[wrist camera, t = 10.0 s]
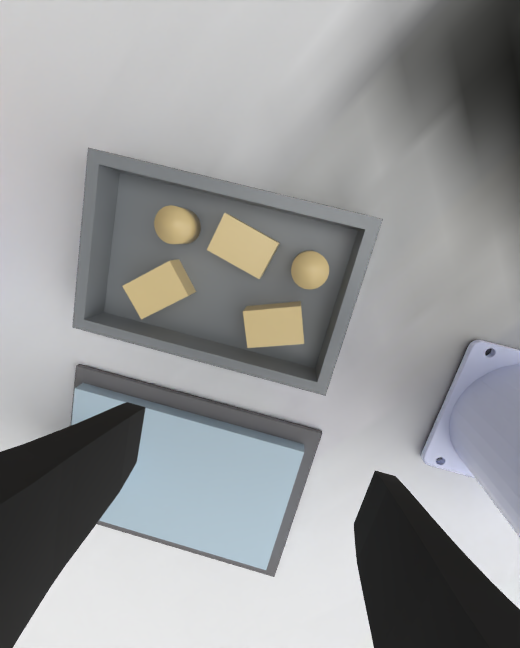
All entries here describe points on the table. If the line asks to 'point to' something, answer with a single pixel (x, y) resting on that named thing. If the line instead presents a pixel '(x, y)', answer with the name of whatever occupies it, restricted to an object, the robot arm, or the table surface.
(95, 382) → the mat
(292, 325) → the tub
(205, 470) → the lid
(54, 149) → the table surface
